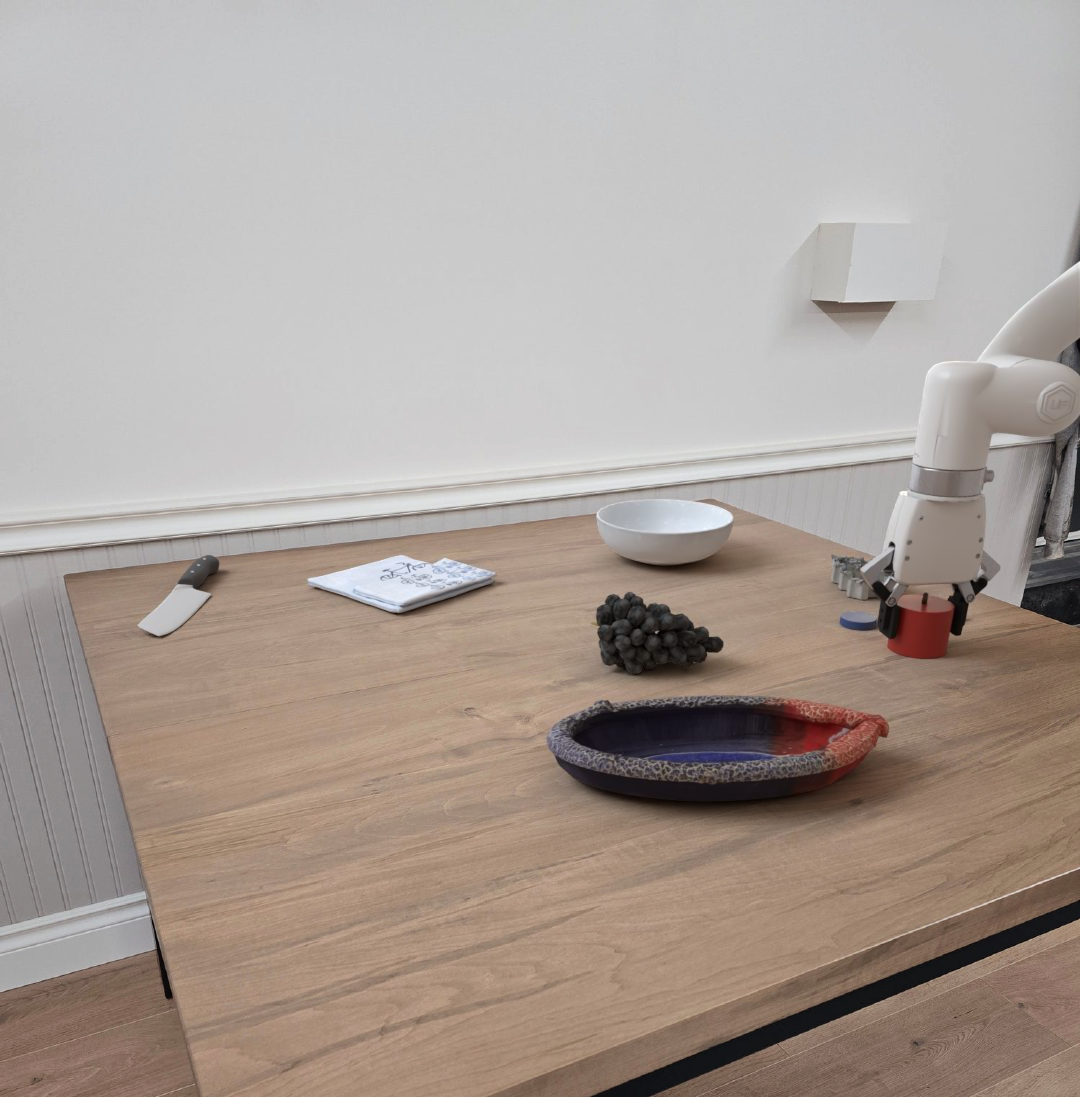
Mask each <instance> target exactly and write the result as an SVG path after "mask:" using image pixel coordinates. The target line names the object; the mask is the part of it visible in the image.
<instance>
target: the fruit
mask: <svg viewBox="0 0 1080 1097" xmlns="http://www.w3.org/2000/svg"><path fill="white" fill-rule="evenodd" d="M595 619H596V621H595V622H593V621H591V622H590V625H592V626H597V627H598V628H597V631H596V634H597V636H598V639H599V640H598V647H599V650H600V659H601V662H602V663H603V664H604V665H605V666H608V667H611V666H614V665H615V666H623V665H624V666H625V669H626V671H627V672H628V673H629V674H630V675H638V674H640V673H641V672H642V670H643V668H644V669H647V670H652V669H654V668H655V667H656V666H657V664H658V665H662V664H666V663H667V662H669V663H673V664H675V665H680V666H681V667H682V668H684V669H689V668H691V667H693V666H694V664H703V663H704V662H705V661H706V660H707V657H708V653H709V654H710V653H712V654H719V653H720V652H721V651H722V650H723V648H724V644H725V642H724V640H723V639H722V638H721V637H720V636H718V635H717V636H710V632H709V629H708V628H706V626H698V627H695V625H694V622H692V620H690V618H689V617H688V616H687V615H685V614H684V613H677V614H674V613H672V611H671V608H670V606H669V605H667V604H665V603H657V602H653V603H649V604H648V605H647V604H645V602H644V598H642V597H641V596H639V595H636V593H634V592H633V591H628V592H626V593H625V594H624V596H623V598H621V597H620V595H619V594H616V593H611V594H609V595H607V596H606V598H605V599H604V604H603V603H602V604H600V605H599V606H598V607H596V614H595Z"/></svg>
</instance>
